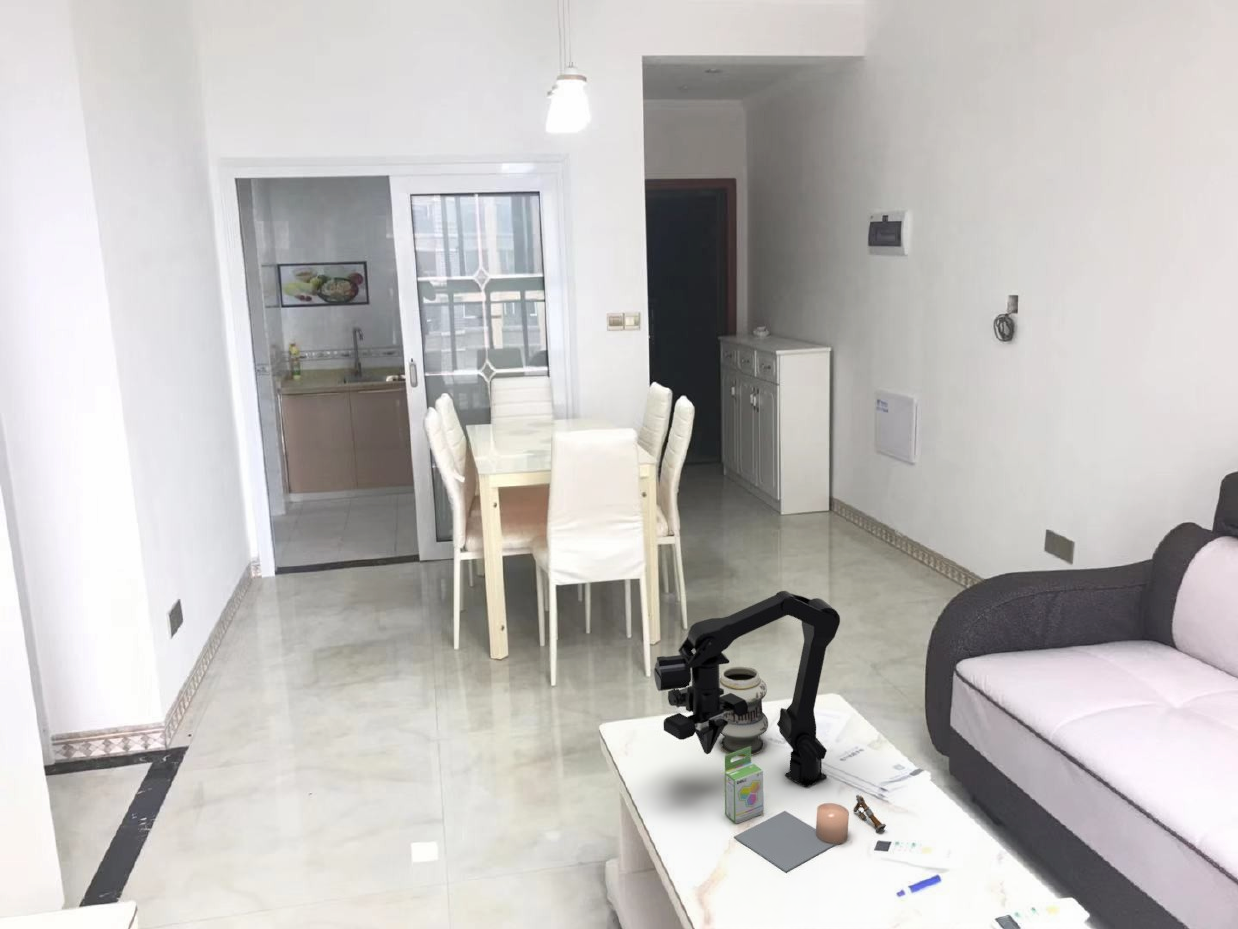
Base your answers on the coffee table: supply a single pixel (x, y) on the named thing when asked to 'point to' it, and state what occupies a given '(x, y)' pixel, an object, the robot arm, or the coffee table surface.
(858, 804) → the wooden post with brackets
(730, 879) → the coffee table surface
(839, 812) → the peach pillar candle
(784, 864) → the slate mat
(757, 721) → the apothecary jar
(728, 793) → the ink box
